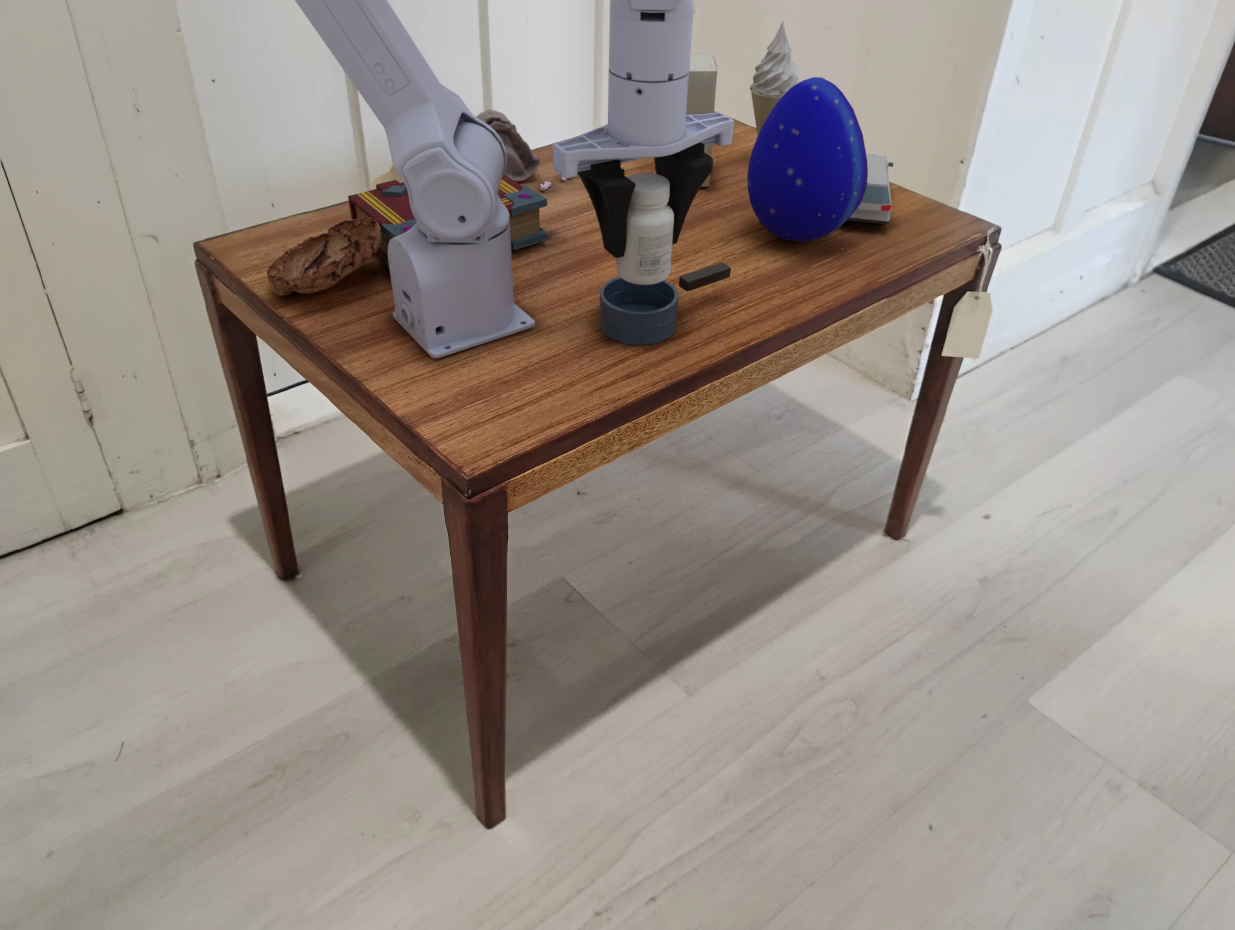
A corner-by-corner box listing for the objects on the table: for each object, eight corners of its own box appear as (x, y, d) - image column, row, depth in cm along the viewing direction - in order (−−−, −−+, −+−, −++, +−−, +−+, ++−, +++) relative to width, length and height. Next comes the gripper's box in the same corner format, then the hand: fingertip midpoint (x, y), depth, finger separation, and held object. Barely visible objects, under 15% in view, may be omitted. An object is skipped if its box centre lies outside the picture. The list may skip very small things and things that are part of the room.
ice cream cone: (784, 172, 107) (805, 29, 97) (739, 168, 107) (754, 25, 98) (787, 155, 111) (807, 16, 101) (743, 151, 111) (759, 12, 102)
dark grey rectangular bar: (686, 292, 82) (687, 281, 81) (678, 286, 82) (679, 275, 82) (730, 277, 84) (731, 267, 83) (721, 272, 85) (722, 261, 84)
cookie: (373, 204, 87) (389, 234, 89) (266, 254, 87) (284, 283, 88) (376, 233, 79) (394, 265, 80) (258, 288, 78) (278, 319, 80)
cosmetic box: (709, 189, 103) (719, 71, 95) (667, 187, 103) (674, 70, 95) (705, 165, 108) (715, 52, 100) (666, 164, 108) (672, 51, 100)
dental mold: (455, 127, 98) (445, 120, 102) (472, 194, 101) (461, 184, 105) (529, 108, 100) (516, 102, 104) (543, 174, 103) (530, 165, 107)
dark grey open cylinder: (628, 353, 78) (629, 321, 76) (584, 318, 82) (584, 286, 80) (691, 330, 81) (694, 299, 79) (646, 297, 85) (647, 267, 83)
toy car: (884, 179, 105) (894, 135, 102) (889, 236, 96) (901, 189, 92) (831, 174, 106) (839, 130, 102) (831, 230, 96) (840, 183, 93)
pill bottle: (681, 271, 78) (687, 179, 73) (649, 292, 75) (654, 199, 70) (637, 255, 80) (640, 165, 75) (605, 275, 77) (606, 183, 72)
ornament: (867, 240, 94) (900, 83, 84) (810, 270, 89) (838, 107, 79) (779, 203, 100) (800, 53, 90) (721, 229, 95) (736, 73, 85)
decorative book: (351, 238, 92) (343, 188, 89) (497, 198, 99) (494, 151, 96) (406, 287, 85) (399, 234, 82) (558, 240, 92) (557, 190, 89)
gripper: (702, 41, 73) (689, 208, 82) (531, 67, 68) (537, 243, 76) (757, 67, 69) (737, 242, 77) (578, 98, 63) (578, 282, 72)
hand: (641, 245), depth 77 cm, fingers closed on pill bottle, 4 cm apart
